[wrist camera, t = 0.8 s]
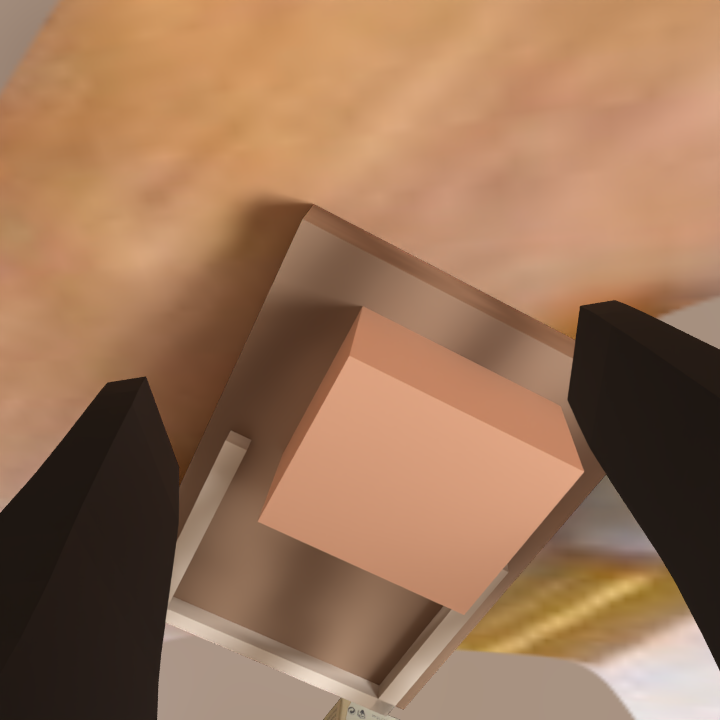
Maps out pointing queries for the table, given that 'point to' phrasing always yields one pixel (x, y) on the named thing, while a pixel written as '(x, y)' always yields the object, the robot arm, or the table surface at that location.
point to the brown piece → (270, 438)
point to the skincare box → (354, 712)
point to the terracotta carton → (420, 465)
